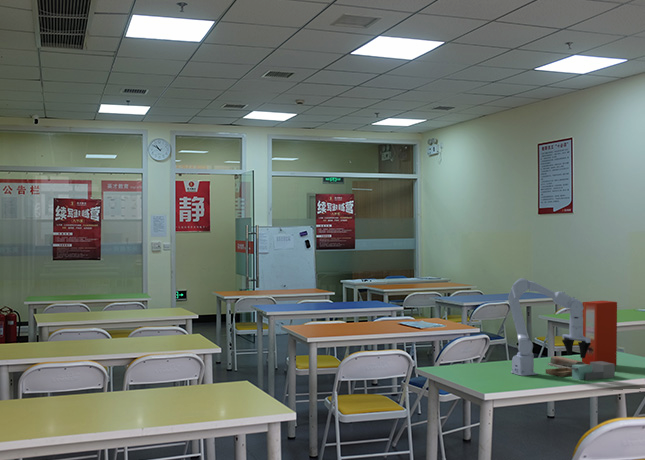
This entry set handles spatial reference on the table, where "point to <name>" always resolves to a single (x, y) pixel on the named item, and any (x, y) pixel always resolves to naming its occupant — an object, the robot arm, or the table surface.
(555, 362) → the packaged product
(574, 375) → the tall teal block
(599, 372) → the bay
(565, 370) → the tray
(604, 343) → the file binder
